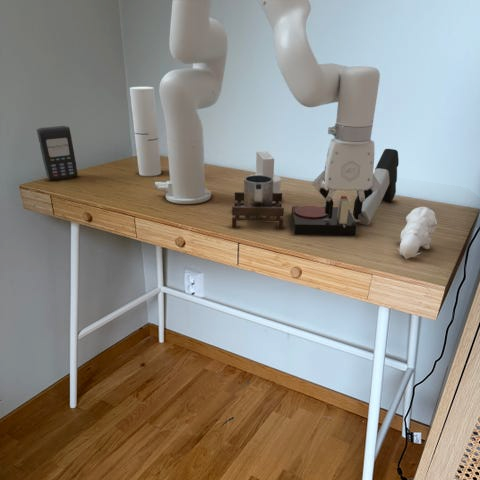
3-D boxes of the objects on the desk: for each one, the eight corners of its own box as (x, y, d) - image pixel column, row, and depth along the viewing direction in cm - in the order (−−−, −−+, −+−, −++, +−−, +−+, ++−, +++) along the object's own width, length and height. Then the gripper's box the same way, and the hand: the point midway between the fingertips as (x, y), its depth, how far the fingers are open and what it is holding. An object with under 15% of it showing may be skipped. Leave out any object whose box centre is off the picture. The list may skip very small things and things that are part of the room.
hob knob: (346, 223, 105) (349, 201, 102) (339, 223, 105) (342, 201, 102) (344, 217, 109) (346, 195, 106) (337, 217, 109) (339, 195, 106)
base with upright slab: (283, 204, 124) (286, 158, 118) (250, 206, 123) (251, 159, 117) (275, 194, 132) (277, 150, 125) (244, 195, 131) (245, 151, 124)
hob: (294, 236, 105) (295, 225, 104) (291, 215, 117) (291, 205, 116) (361, 238, 105) (363, 227, 103) (351, 216, 117) (352, 206, 115)
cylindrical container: (139, 170, 153) (130, 86, 140) (161, 170, 154) (154, 86, 141) (138, 176, 147) (128, 89, 134) (160, 175, 148) (153, 89, 135)
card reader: (49, 182, 141) (38, 129, 133) (45, 179, 144) (34, 127, 136) (79, 177, 145) (70, 127, 137) (75, 174, 148) (66, 124, 140)
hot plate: (295, 217, 108) (295, 216, 108) (293, 206, 115) (293, 205, 115) (331, 218, 108) (331, 217, 108) (326, 206, 115) (327, 205, 115)
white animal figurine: (441, 206, 96) (428, 229, 88) (433, 243, 102) (419, 268, 93) (411, 201, 99) (395, 223, 91) (404, 237, 104) (388, 261, 96)
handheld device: (397, 192, 127) (399, 147, 115) (370, 252, 119) (369, 211, 107) (383, 189, 129) (384, 145, 117) (355, 249, 121) (353, 208, 108)
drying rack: (232, 227, 110) (232, 207, 107) (234, 211, 120) (234, 191, 117) (282, 228, 109) (283, 208, 106) (281, 212, 119) (282, 192, 117)
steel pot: (243, 213, 109) (243, 184, 105) (244, 201, 117) (245, 173, 113) (272, 214, 109) (273, 184, 105) (271, 202, 117) (272, 174, 113)
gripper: (313, 136, 94) (306, 221, 104) (398, 137, 93) (383, 223, 103) (310, 129, 100) (303, 210, 110) (390, 131, 100) (376, 212, 109)
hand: (342, 216), depth 106 cm, fingers open, 5 cm apart
